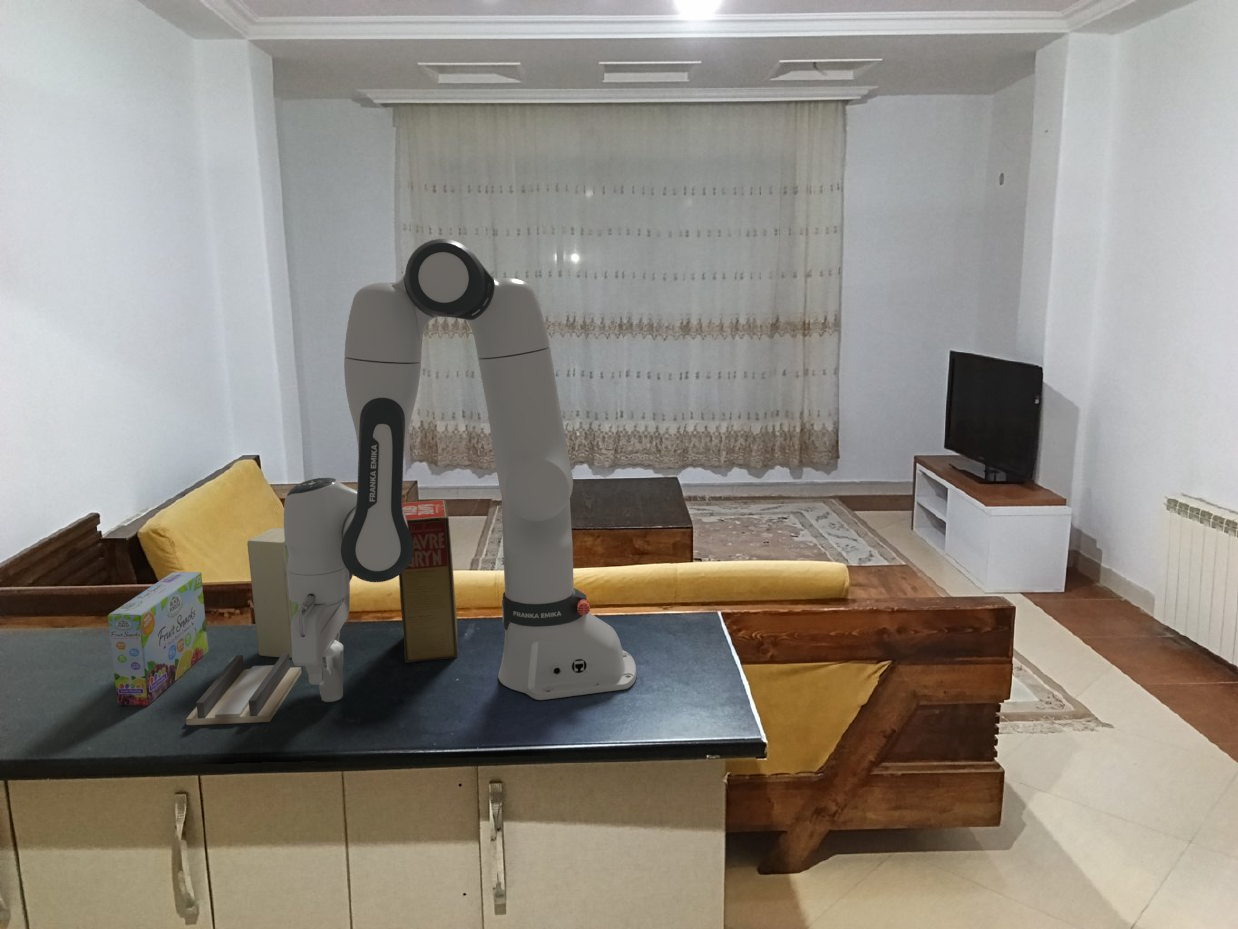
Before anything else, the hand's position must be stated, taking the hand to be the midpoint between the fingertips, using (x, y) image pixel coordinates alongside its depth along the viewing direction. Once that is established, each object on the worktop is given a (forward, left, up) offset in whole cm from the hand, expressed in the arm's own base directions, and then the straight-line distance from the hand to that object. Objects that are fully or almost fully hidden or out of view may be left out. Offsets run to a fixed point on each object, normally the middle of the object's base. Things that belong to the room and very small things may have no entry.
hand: (324, 669), depth 143 cm
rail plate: (+12, -1, -5) cm, 13 cm away
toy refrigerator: (+11, -20, -5) cm, 24 cm away
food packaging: (-14, -19, -5) cm, 24 cm away
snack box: (+28, -10, -5) cm, 31 cm away
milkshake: (-1, 0, -5) cm, 5 cm away
